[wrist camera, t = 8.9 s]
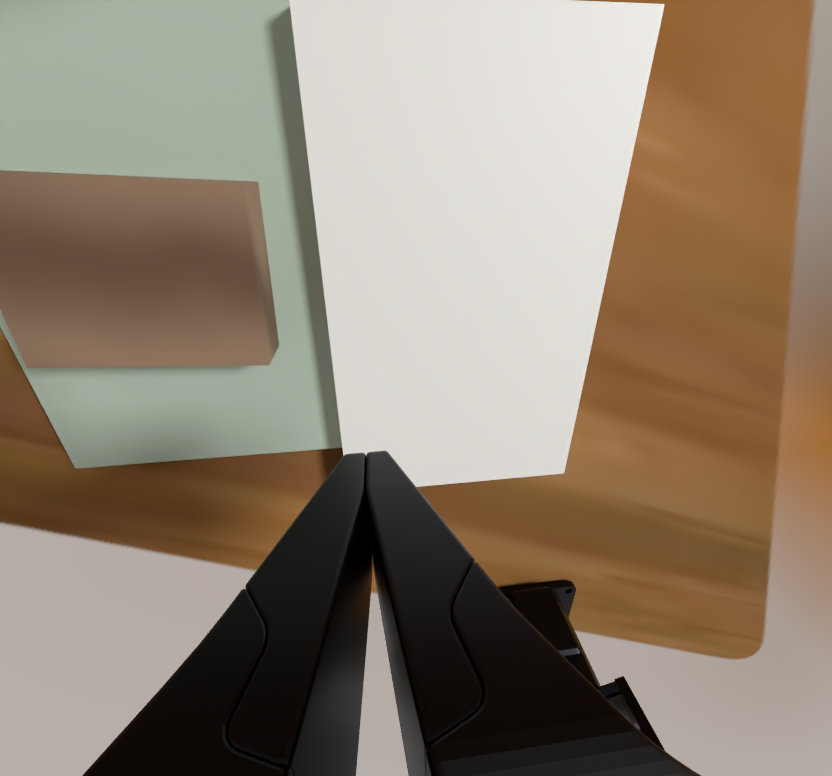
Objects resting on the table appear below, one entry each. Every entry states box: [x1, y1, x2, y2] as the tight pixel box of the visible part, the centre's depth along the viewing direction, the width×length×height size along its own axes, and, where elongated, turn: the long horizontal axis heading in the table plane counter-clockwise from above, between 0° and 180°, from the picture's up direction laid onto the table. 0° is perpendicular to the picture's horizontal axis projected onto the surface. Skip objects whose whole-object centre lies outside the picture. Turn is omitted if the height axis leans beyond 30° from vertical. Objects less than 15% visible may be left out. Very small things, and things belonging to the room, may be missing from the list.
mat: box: [0, 0, 342, 469], centre depth 14 cm, size 18×12×1 cm, turn 1°
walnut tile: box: [0, 170, 279, 368], centre depth 14 cm, size 6×8×2 cm
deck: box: [289, 0, 665, 487], centre depth 16 cm, size 18×11×2 cm, turn 1°
